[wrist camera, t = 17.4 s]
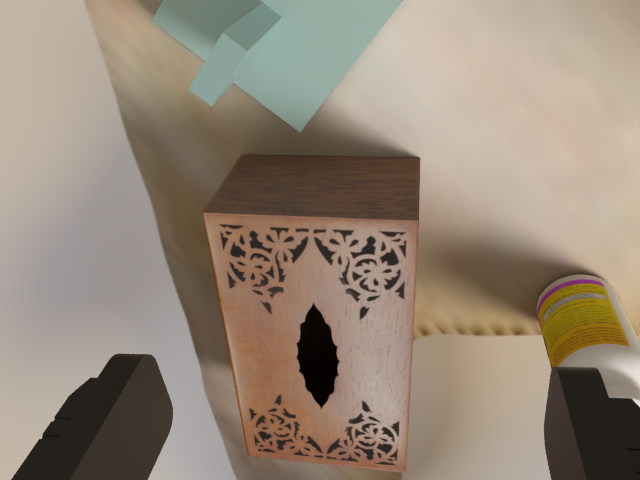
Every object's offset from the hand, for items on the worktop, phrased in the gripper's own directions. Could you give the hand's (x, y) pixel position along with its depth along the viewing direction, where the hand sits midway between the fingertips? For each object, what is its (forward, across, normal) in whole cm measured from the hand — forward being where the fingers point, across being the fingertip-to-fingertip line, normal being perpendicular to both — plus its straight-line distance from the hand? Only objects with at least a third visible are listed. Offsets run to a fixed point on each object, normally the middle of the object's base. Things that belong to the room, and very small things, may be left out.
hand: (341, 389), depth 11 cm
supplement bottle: (+33, -14, +24) cm, 43 cm away
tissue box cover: (+34, +7, +22) cm, 41 cm away
